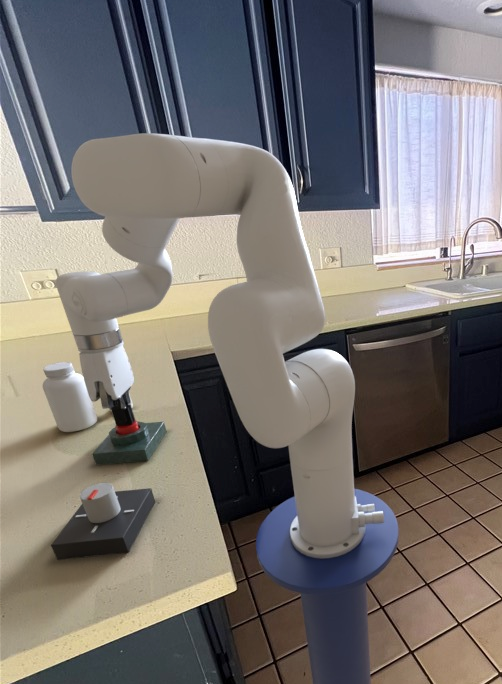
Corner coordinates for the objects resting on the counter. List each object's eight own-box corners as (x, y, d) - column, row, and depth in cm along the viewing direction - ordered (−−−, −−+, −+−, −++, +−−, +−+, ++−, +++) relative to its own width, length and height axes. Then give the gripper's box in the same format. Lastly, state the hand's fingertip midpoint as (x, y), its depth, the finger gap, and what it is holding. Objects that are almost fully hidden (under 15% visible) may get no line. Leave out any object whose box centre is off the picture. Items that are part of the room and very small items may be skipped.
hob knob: (96, 506, 70) (87, 482, 68) (125, 503, 70) (116, 479, 68) (83, 524, 66) (73, 499, 64) (113, 521, 66) (104, 497, 64)
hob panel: (155, 501, 75) (151, 487, 74) (128, 552, 65) (122, 536, 63) (95, 507, 74) (89, 492, 73) (57, 560, 63) (49, 544, 62)
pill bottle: (80, 434, 97) (58, 373, 91) (50, 431, 99) (25, 371, 92) (106, 417, 104) (87, 360, 98) (77, 416, 106) (56, 358, 99)
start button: (141, 425, 92) (139, 418, 91) (134, 434, 89) (132, 427, 88) (122, 427, 92) (120, 420, 91) (114, 436, 88) (111, 429, 87)
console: (166, 431, 98) (162, 414, 96) (148, 460, 87) (142, 441, 85) (120, 435, 97) (114, 417, 95) (95, 465, 86) (88, 446, 84)
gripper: (96, 329, 88) (122, 409, 96) (56, 353, 74) (90, 443, 82) (135, 327, 88) (157, 406, 96) (102, 350, 75) (131, 440, 83)
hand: (126, 423), depth 89 cm, fingers closed
